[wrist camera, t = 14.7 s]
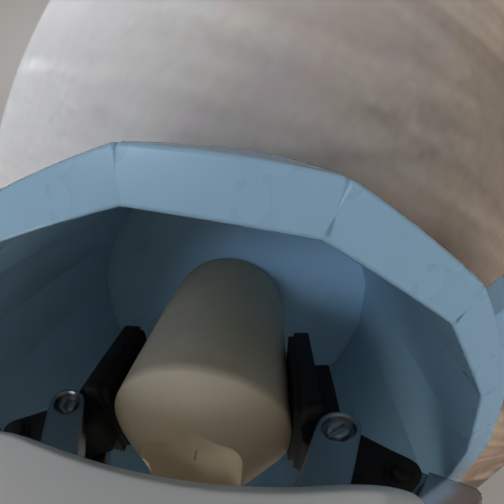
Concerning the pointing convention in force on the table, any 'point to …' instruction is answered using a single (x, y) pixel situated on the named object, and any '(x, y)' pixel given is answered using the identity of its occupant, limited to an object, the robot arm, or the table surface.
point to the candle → (212, 380)
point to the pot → (271, 263)
